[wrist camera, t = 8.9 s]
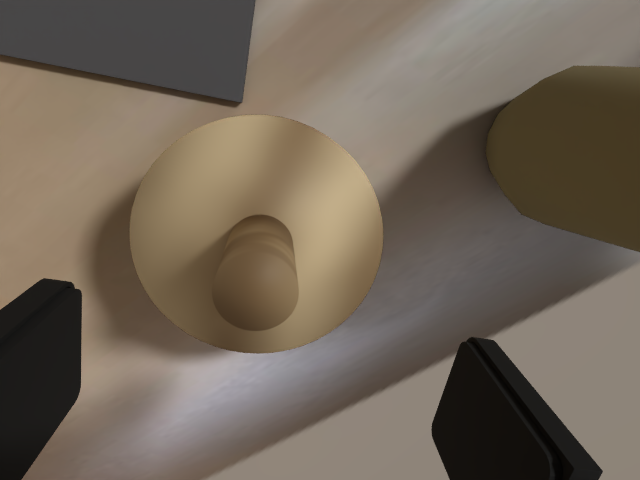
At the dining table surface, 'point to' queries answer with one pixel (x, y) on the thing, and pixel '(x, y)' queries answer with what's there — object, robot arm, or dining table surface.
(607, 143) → the squeeze bottle
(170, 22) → the mat
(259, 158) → the lid
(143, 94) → the dining table surface
